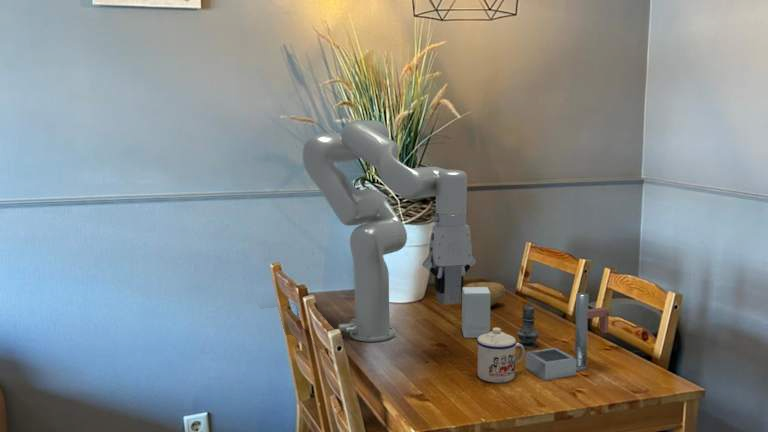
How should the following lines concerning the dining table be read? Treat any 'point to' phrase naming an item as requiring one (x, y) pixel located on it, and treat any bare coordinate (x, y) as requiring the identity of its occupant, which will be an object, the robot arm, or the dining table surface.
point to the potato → (491, 290)
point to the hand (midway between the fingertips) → (448, 290)
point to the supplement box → (475, 311)
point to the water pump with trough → (564, 365)
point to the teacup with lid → (497, 356)
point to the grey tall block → (451, 286)
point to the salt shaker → (528, 328)
